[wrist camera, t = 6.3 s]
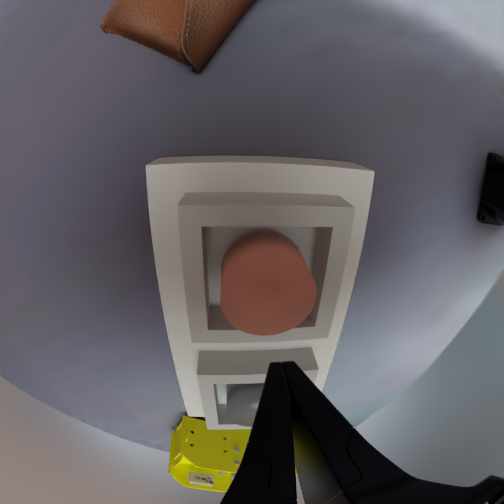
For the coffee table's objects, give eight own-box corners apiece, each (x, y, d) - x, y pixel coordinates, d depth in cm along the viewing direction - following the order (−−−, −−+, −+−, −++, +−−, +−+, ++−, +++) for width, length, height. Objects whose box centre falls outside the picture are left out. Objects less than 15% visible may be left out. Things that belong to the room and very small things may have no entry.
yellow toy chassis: (171, 427, 29) (166, 484, 22) (184, 408, 27) (179, 473, 20) (280, 446, 33) (288, 494, 26) (302, 429, 31) (314, 482, 24)
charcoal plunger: (284, 366, 20) (291, 396, 17) (279, 398, 22) (283, 424, 19) (225, 368, 19) (225, 399, 17) (227, 400, 21) (228, 427, 19)
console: (353, 162, 16) (395, 180, 12) (307, 388, 26) (318, 429, 22) (159, 157, 16) (131, 173, 11) (190, 392, 25) (186, 435, 21)
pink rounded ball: (307, 231, 14) (323, 256, 12) (298, 301, 16) (309, 333, 14) (220, 230, 14) (218, 256, 11) (222, 303, 16) (221, 336, 13)
